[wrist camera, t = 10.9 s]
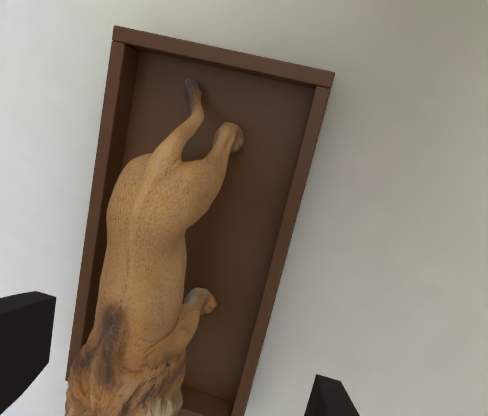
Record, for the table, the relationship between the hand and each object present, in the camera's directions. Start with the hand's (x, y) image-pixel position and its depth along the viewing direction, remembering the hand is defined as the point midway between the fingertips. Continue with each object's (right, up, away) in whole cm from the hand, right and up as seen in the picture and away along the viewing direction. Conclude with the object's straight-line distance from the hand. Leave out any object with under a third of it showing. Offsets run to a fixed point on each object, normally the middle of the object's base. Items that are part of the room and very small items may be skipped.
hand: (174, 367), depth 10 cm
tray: (-1, +3, +9) cm, 10 cm away
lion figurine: (0, +2, +9) cm, 9 cm away
